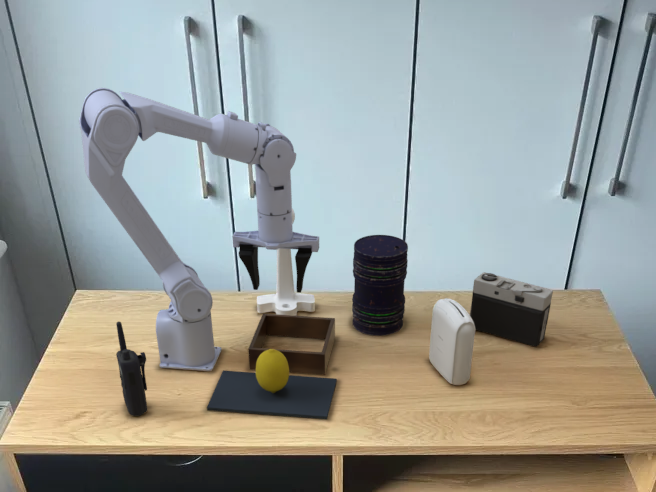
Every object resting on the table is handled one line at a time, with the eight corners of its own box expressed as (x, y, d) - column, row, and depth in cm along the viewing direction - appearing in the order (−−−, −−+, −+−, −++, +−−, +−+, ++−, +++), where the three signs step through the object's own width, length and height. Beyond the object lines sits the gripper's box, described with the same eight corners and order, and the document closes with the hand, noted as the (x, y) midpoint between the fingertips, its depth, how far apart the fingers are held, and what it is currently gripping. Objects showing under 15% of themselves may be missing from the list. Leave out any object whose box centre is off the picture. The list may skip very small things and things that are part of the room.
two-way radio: (123, 402, 143) (107, 318, 132) (150, 397, 144) (136, 313, 133) (130, 420, 139) (114, 334, 129) (157, 414, 140) (143, 329, 130)
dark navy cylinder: (346, 332, 161) (347, 253, 150) (357, 309, 167) (359, 232, 157) (399, 338, 159) (403, 259, 149) (407, 314, 166) (412, 237, 156)
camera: (553, 330, 162) (563, 279, 155) (536, 348, 157) (545, 296, 150) (485, 312, 167) (492, 261, 160) (467, 328, 162) (473, 277, 155)
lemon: (277, 404, 141) (275, 361, 136) (250, 395, 143) (247, 351, 138) (296, 389, 145) (295, 346, 139) (269, 380, 147) (267, 337, 141)
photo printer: (425, 359, 154) (430, 293, 145) (446, 355, 155) (453, 289, 146) (449, 388, 147) (457, 320, 138) (472, 383, 148) (481, 316, 139)
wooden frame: (249, 369, 151) (248, 349, 148) (264, 333, 160) (262, 313, 157) (325, 375, 149) (324, 354, 147) (335, 338, 159) (335, 318, 156)
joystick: (314, 303, 169) (312, 198, 155) (315, 321, 164) (314, 214, 150) (257, 304, 169) (251, 199, 155) (257, 322, 163) (250, 215, 149)
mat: (207, 410, 141) (206, 407, 141) (223, 373, 150) (222, 370, 149) (327, 419, 139) (327, 416, 139) (336, 381, 148) (336, 378, 148)
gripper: (225, 216, 139) (232, 296, 148) (314, 221, 137) (315, 301, 147) (235, 200, 144) (241, 278, 153) (320, 204, 143) (321, 283, 152)
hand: (278, 288), depth 150 cm, fingers open, 7 cm apart
